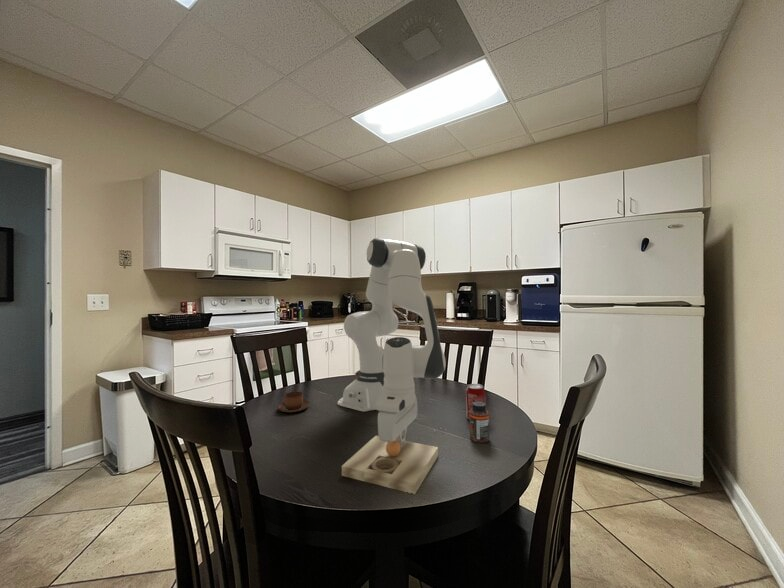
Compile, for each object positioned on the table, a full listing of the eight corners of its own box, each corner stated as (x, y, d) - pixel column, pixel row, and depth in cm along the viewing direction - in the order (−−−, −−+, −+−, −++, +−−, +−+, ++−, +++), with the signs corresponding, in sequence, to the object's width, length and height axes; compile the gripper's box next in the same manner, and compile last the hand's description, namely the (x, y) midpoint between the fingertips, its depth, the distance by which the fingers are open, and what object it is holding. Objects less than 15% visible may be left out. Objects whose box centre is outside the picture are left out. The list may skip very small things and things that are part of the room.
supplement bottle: (467, 435, 106) (466, 400, 106) (485, 434, 106) (484, 399, 106) (473, 444, 100) (472, 407, 100) (492, 442, 100) (491, 406, 100)
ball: (389, 448, 92) (383, 458, 88) (388, 435, 91) (382, 444, 87) (402, 451, 90) (397, 461, 87) (402, 438, 89) (396, 447, 86)
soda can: (486, 423, 115) (485, 389, 115) (466, 421, 117) (466, 388, 116) (484, 415, 122) (484, 383, 122) (466, 414, 123) (465, 382, 123)
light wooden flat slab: (341, 475, 84) (341, 465, 84) (375, 443, 101) (375, 435, 101) (414, 494, 76) (414, 483, 76) (438, 455, 93) (438, 447, 93)
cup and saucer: (271, 412, 130) (271, 397, 130) (291, 403, 141) (291, 388, 141) (296, 416, 125) (296, 400, 125) (315, 406, 136) (314, 391, 136)
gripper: (403, 384, 104) (404, 428, 104) (373, 406, 85) (374, 459, 85) (421, 386, 101) (423, 431, 101) (395, 409, 82) (396, 463, 82)
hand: (400, 444), depth 93 cm, fingers closed
